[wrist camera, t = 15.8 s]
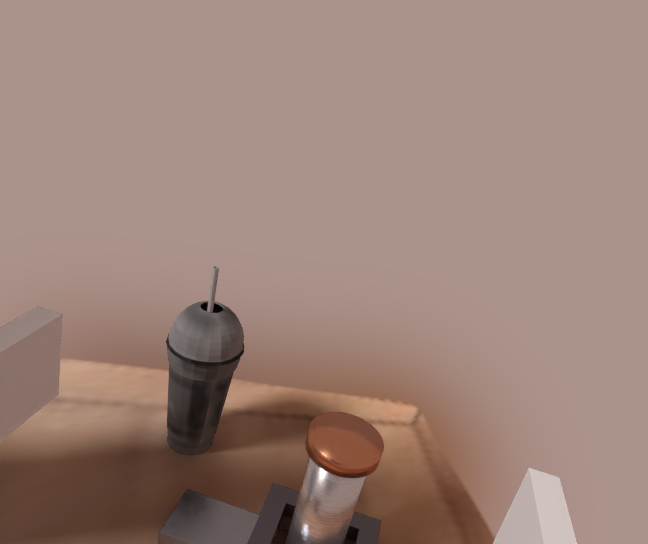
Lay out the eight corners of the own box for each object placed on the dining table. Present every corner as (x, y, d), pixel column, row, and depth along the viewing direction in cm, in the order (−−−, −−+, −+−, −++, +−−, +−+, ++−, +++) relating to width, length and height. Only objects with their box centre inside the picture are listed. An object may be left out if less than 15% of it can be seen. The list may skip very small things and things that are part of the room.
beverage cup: (233, 425, 60) (266, 257, 52) (215, 472, 53) (251, 288, 45) (167, 409, 60) (191, 239, 52) (141, 454, 53) (165, 267, 45)
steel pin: (258, 559, 45) (293, 422, 40) (312, 534, 49) (350, 405, 44) (296, 617, 42) (340, 474, 36) (351, 585, 45) (399, 451, 40)
